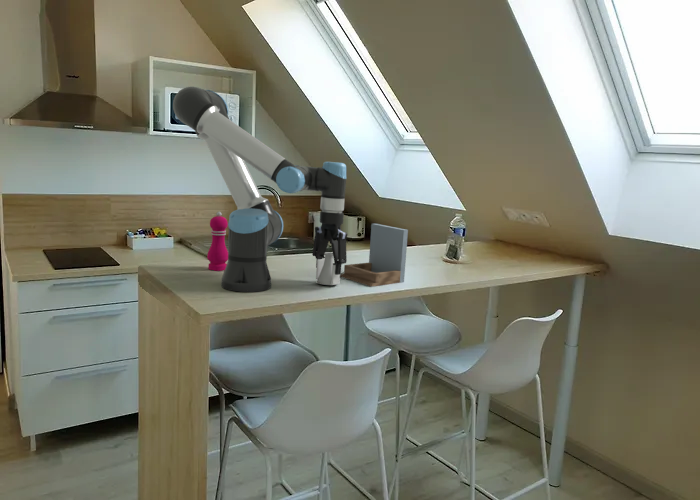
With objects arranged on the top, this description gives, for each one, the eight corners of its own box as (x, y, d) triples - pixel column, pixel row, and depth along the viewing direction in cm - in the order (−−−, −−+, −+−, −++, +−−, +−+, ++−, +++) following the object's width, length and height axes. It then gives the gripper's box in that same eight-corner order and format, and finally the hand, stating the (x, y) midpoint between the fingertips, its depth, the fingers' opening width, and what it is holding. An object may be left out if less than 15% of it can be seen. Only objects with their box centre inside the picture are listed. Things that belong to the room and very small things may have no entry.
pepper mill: (202, 268, 201) (204, 210, 197) (220, 266, 206) (222, 210, 203) (214, 272, 196) (215, 213, 193) (232, 270, 201) (234, 212, 198)
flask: (321, 279, 193) (323, 250, 191) (341, 282, 191) (344, 252, 189) (312, 283, 187) (314, 253, 185) (333, 287, 184) (335, 256, 182)
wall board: (399, 282, 197) (403, 230, 194) (368, 273, 209) (371, 223, 206) (403, 282, 199) (408, 229, 196) (372, 272, 211) (375, 223, 208)
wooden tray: (371, 286, 189) (372, 274, 188) (340, 276, 201) (341, 265, 200) (399, 282, 197) (400, 271, 197) (368, 273, 209) (368, 262, 209)
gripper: (361, 215, 180) (356, 287, 183) (321, 207, 194) (317, 274, 198) (343, 215, 175) (338, 289, 179) (303, 207, 190) (299, 275, 193)
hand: (327, 281), depth 188 cm, fingers closed on flask, 7 cm apart
